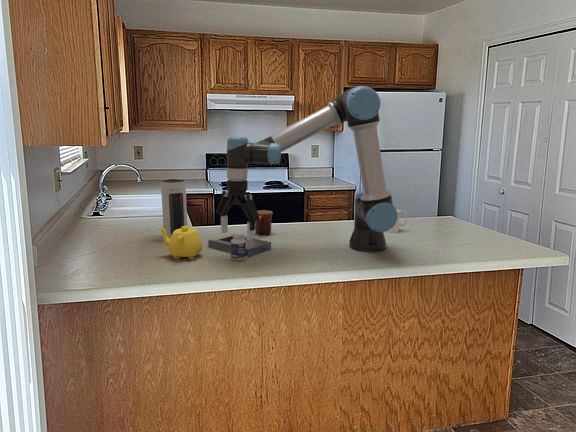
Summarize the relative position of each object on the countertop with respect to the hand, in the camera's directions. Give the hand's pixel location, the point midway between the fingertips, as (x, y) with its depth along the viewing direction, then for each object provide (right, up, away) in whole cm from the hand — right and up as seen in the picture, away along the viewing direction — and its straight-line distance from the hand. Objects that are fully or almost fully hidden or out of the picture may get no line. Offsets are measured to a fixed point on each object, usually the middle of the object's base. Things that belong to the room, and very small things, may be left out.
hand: (237, 235), depth 182 cm
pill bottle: (0, -9, +2) cm, 9 cm away
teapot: (-22, -8, +4) cm, 24 cm away
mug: (+7, -1, +39) cm, 40 cm away
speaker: (-30, -3, +31) cm, 43 cm away
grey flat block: (-1, -6, +16) cm, 17 cm away
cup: (+69, 0, +49) cm, 85 cm away
